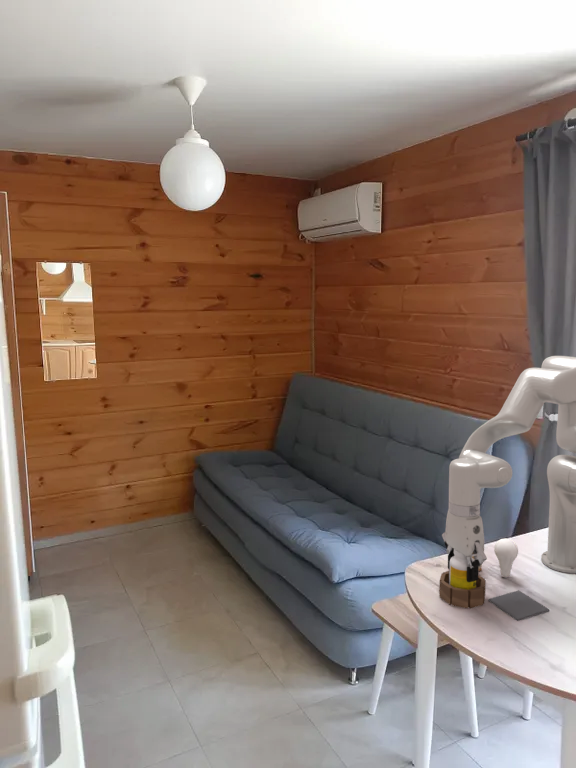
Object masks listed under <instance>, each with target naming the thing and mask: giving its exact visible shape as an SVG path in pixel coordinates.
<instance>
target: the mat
mask: <svg viewBox="0 0 576 768" xmlns="http://www.w3.org/2000/svg"><path fill="white" fill-rule="evenodd" d="M488 602H489V603H491V604H492V605H493V606H495V607H497V608H498V609H500V610H501V611H502V612H504V613H505V614H506V615H508V616H510V617H511V618H513V619H514V620H516V621H517V622H519V621H523V620H525V619H528V618H531V617H534V616H538V615H541V614H544V613H547V612H550V608H549V607H547V606H545V605H543V604H542V603H540V602H539V601H537V600H536V599H534V598H532V597H530V596H529V595H527V594H526V593H524V592H523V591H521V590H519V589H518V590H516V591H512V592H508V593H504V594H501V595H500V594H499V595H498V596H494V597H490V598H488Z"/></svg>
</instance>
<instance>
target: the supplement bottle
mask: <svg viewBox="0 0 576 768" xmlns="http://www.w3.org/2000/svg"><path fill="white" fill-rule="evenodd" d="M472 554H473V553H472ZM454 555H455V556H453V557H451V559H450V570H449V569H448V571H449V585H451V586H452V587H455V588H461V589H467V590H469V589H473V588H476V581H473V582H467V567H468V566H469V565H468V561H467V557H466V556H465V555H464V554H462V553H460V552H459V551H457V550H456V549H454ZM471 558H472V557H471ZM473 561H474V559H473V558H472V562H473Z"/></svg>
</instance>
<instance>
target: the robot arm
mask: <svg viewBox="0 0 576 768" xmlns="http://www.w3.org/2000/svg"><path fill="white" fill-rule="evenodd" d="M545 403H550V404H555V405H558V411H557V420H556V421H557V423H556V435H555V437H556V438H555V439H556V440H555V441H556V444H557V446H558V447H559V448H561V450H565V451H567V452H571V453H573V454H576V357H575V356H568V355H551V356H549V357H546V358H545V359H544V360H543V361H542V364H541V367H528V368H525V369H524V370H523V371H522V372H521V373H520V374H519V376H518V377H517V380H516V382H515V383H514V386H513V387H512V389H511V391H510V392H509V394H508V396H507V398H506V400H505V401H504V403H503V405H502V407H501V409H500V411H499V412H498V413H497V415H495V416H494V417H492V418H490V419H489V420H487V421H486V422H485V423H483V424H482V425H480V426H479V427H478V428H476V429H475V430H474V431H473V432H472V433H471V435H470V436H469V437H468V439H467V441H466V442H465V444H464V446H463V448H462V449H461V451H460V454H459V456H458V458H456V459H453V460H452V461H450V464H449V468H448V471H449V473H448V509H447V513H446V519H445V521H446V522H445V531H444V532H443V533H442V534H441V537H442V539H443V542H444V546H445V548H446V550H445V553H446V554H447V569H448V570H449V569H450V559H451V557H453V556H455V555H454V549H456V550H457V551H459V552H460V553H462V554H464V555H465V556H466V557H467V561H468V565H469V566H468V567H467V582H473V581H476V580H478V575H479V571H480V570H479V566H480V565H481V564H483V563H485V562H486V560H488V557H487V556H486V554H485V532H484V523H483V519H482V516H481V511H480V509H481V490H482V489H486V488H487V489H497V488H502V487H503V486H506V485H507V484H509V482H510V481H511V480H512V477H513V468H512V466H511V465H510V463H509V462H508V461H506V460H505V459H503V458H500V457H498V456H494V455H492V454H489V453H487V451H488V450H489V449H490V447H491V446H492V445H493V444H495V443H496V442H498V441H500V440H501V439H505V438H507V437H508V438H509V437H512V436H515V435H519V434H524V433H527V432H528V431H530V430H531V428H532V427H533V425H534V422H535V421H536V419H537V418H538V415H539V414H540V412H541V409H542V408H543V406H544V404H545ZM546 467H547V468H546V476H547V483H548V488H549V489H548V491H549V509H548V510H549V511H548V512H549V513H548V530H547V532H548V533H547V534H548V535H547V550H546V551H545V552H543V553H541V555H540V557H541V559H540V560H541V562H542V563H543V565H545V566H546V567H548V568H550V569H552V570H555V571H557V572H563V573H566V574H567V573H568V574H576V456H575V455H572V454H571V455H569V454H558V455H556V456H554V457H553V458H551V459H550V461H549V462H548V464H547V466H546ZM472 553H473V554H472ZM471 557H474V559H475V560H474V561H473V562H472V558H471Z"/></svg>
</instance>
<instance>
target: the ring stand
mask: <svg viewBox="0 0 576 768" xmlns="http://www.w3.org/2000/svg"><path fill="white" fill-rule="evenodd" d="M439 577H440V578H439V594H438V595H439V598H440V599H441V600H443V601H444V603H447V604H448V605H449V606H451V607H457V608H462V609H473V608H474V609H475V608H477V607H481V606H483V605H485V600H486V585H487V584H486V582H487V581H486V578H484V577H483V576H481V575H479V574H478V580H476V588H473V589H469V590H467V589H461V588H455V587H452V586H451V585H449V570H448V571H443V572H442V573H441V575H440V576H439Z"/></svg>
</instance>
